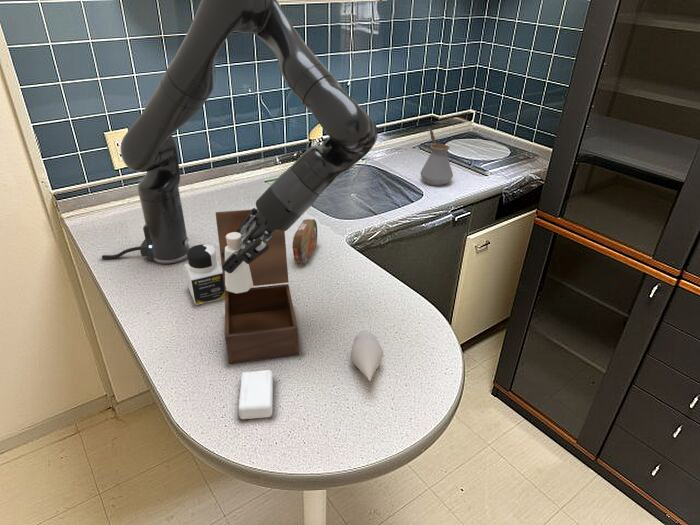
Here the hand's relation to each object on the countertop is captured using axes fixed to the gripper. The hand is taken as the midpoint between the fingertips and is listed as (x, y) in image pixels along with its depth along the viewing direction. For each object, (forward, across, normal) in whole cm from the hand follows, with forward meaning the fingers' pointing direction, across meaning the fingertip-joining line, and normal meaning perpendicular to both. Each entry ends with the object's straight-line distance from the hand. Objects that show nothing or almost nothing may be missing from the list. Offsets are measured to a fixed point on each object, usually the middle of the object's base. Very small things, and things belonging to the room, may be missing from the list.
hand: (225, 263), depth 91 cm
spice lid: (-2, -10, +6) cm, 11 cm away
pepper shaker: (+2, 0, +5) cm, 6 cm away
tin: (0, -31, +26) cm, 41 cm away
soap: (+10, +18, +15) cm, 25 cm away
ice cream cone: (-4, +14, +30) cm, 33 cm away
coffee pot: (-38, -79, +65) cm, 109 cm away
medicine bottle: (+17, -18, +9) cm, 26 cm away
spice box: (+9, 0, +16) cm, 19 cm away
